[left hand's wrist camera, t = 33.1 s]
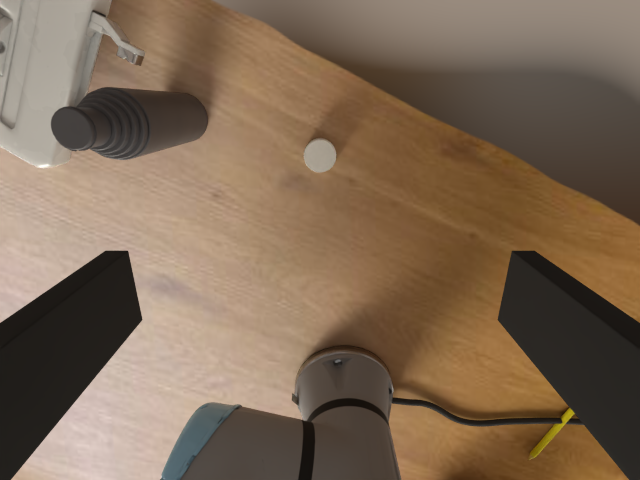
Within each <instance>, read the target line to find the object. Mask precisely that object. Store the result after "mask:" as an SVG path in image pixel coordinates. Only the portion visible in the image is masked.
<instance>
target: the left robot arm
mask: <svg viewBox="0 0 640 480" xmlns="http://www.w3.org/2000/svg"><path fill="white" fill-rule="evenodd" d="M141 321H142V316H141V311H140V306H139V301H138V297H137V292H136V287H135V282H134V277H133V272H132V268H131V263H130V258H129V253H128V251H105V252H103V253H102V254H100V255H99V256H97V257H96V258H94V259H93V260H92V261H90V262H89V263H87V264H86V265H84V266H83V267H81V268H80V269H78V270H77V271H75V272H74V273H73V274H71V275H70V276H68V277H67V278H65V279H64V280H62V281H61V282H59V283H58V284H57V285H55V286H54V287H52V288H51V289H49V290H48V291H46V292H45V293H43V294H42V295H40V296H39V297H38V298H36V299H35V300H33V301H32V302H30V303H29V304H27V305H26V306H24V307H23V308H22V309H20V310H19V311H17V312H16V313H14V314H13V315H11V316H10V317H8V318H7V319H6V320H4V321H3V322H1V323H0V480H11V479H12V478H13V476H14V475H15V474H16V473H17V472H18V470H19V469H20V468H21V467H22V465H23V464H24V463H25V462H26V461H27V459H28V458H29V457H30V456H31V454H32V453H33V452H34V451H35V450H36V448H37V447H38V446H39V445H40V444H41V442H42V441H43V440H44V439H45V437H46V436H47V435H48V434H49V433H50V431H51V430H52V429H53V428H54V427H55V425H56V424H57V423H58V422H59V420H60V419H61V418H62V417H63V416H64V414H65V413H66V412H67V411H68V410H69V408H70V407H71V406H72V405H73V403H74V402H75V401H76V400H77V399H78V397H79V396H80V395H81V394H82V392H83V391H84V390H85V389H86V388H87V386H88V385H89V384H90V383H91V382H92V380H93V379H94V378H95V377H96V375H97V374H98V373H99V372H100V371H101V369H102V368H103V367H104V366H105V365H106V363H107V362H108V361H109V360H110V358H111V357H112V356H113V355H114V354H115V352H116V351H117V350H118V349H119V348H120V346H121V345H122V344H123V343H124V341H125V340H126V339H127V338H128V337H129V335H130V334H131V333H132V332H133V330H134V329H135V328H136V327H137V326H138V324H139V323H140V322H141ZM498 321H499V322H500V323H501V324H502V326H503V327H504V328H505V329H506V330H507V332H508V333H509V334H510V335H511V337H512V338H513V339H514V340H515V341H516V343H517V344H518V345H519V346H520V348H521V349H522V350H523V351H524V352H525V354H526V355H527V356H528V357H529V358H530V360H531V361H532V362H533V363H534V365H535V366H536V367H537V368H538V369H539V371H540V372H541V373H542V374H543V375H544V377H545V378H546V379H547V380H548V382H549V383H550V384H551V385H552V386H553V388H554V389H555V390H556V391H557V392H558V394H559V395H560V396H561V397H562V399H563V400H564V401H565V402H566V403H567V405H568V406H569V407H570V408H571V410H572V411H573V412H574V413H575V414H576V416H577V417H578V418H579V419H573V418H570V419H569V420H568V421H567V423H566V424H576V425H585V427H586V428H587V429H588V430H589V431H590V433H591V434H592V435H593V436H594V437H595V439H596V440H597V441H598V442H599V444H600V445H601V446H602V447H603V448H604V450H605V451H606V452H607V453H608V454H609V456H610V457H611V458H612V459H613V461H614V462H615V463H616V464H617V465H618V467H619V468H620V469H621V470H622V472H623V473H624V474H625V475H626V476H627V478H628V479H629V480H640V323H639V322H637V321H636V320H634V319H633V318H632V317H630V316H629V315H627V314H626V313H624V312H623V311H621V310H620V309H618V308H617V307H616V306H614V305H613V304H611V303H610V302H608V301H607V300H605V299H604V298H602V297H601V296H600V295H598V294H597V293H595V292H594V291H592V290H591V289H589V288H588V287H586V286H585V285H583V284H582V283H581V282H579V281H578V280H576V279H575V278H573V277H572V276H570V275H569V274H567V273H566V272H565V271H563V270H562V269H560V268H559V267H557V266H556V265H554V264H553V263H551V262H550V261H548V260H547V259H546V258H544V257H543V256H541V255H540V254H538V253H537V252H535V251H512V253H511V258H510V263H509V268H508V272H507V277H506V282H505V287H504V292H503V297H502V301H501V306H500V311H499V316H498ZM292 401H293V402H294V403H296V404H297V405H298V408H299V410H300V412H301V415H302V418H303V420H300V419H295V418H291V417H286V416H281V415H277V414H272V413H268V412H263V411H259V410H254V409H250V408H246V407H242V406H241V405H227V404H221V403H214V402H211V403H206V404H204V405H202V406H201V407H199V408H198V409H197V410H196V411H195V413H194V414H193V415H192V416H191V418H190V419H189V421H188V422H187V424H186V425H185V427H184V429H183V431H182V432H181V434H180V436H179V438H178V440H177V442H176V444H175V446H174V448H173V450H172V452H171V454H170V456H169V458H168V461H167V463H166V465H165V467H164V470H163V472H162V478H161V479H160V480H401V476H400V472H399V467H398V463H397V458H396V454H395V449H394V445H393V440H392V436H391V432H390V427H389V416H390V410H391V403H393V404H402V405H413V406H424V407H427V408H430V409H433V410H435V411H437V412H438V413H440V414H442V415H443V416H445V417H447V418H448V419H450V420H452V421H454V422H457V423H460V424H464V425H469V426H496V425H510V424H561V423H562V420H561V418H509V419H495V420H468V419H463V418H460V417H457V416H455V415H453V414H451V413H449V412H448V411H446V410H444V409H443V408H441V407H439V406H437V405H435V404H433V403H430V402H427V401H423V400H412V399H402V398H393V384H392V380H391V376H390V373H389V370H388V368H387V367H386V365H385V364H384V362H383V361H382V360H381V359H380V358H379V357H377V356H376V355H375V354H373V353H371V352H369V351H367V350H365V349H362V348H358V347H353V346H336V347H331V348H327V349H324V350H321V351H319V352H317V353H316V354H314V355H312V356H311V357H310V358H308V359H307V360H306V361H305V362H304V364H303V365H302V366H301V368H300V369H299V371H298V374H297V377H296V383H295V395H294V394H292Z"/></svg>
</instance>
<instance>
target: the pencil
mask: <svg viewBox="0 0 640 480" xmlns="http://www.w3.org/2000/svg"><path fill="white" fill-rule="evenodd" d="M574 414H575V413H574V412H573V411H572V410H571V408H570V407H569V408H568V410H567V411H566V412H565V413H564V414H563V415H562V416H561V420H562V423H561V424H554V426H553V427H552V428H551V429H550V430H549V431H548V432H547V434H546V435H545V436H544V437H543V438H542V439H541V440H540V442H539V443H538V444H537V445H536V446H535V447H534V448H533V450H532V451H531V452H530V454H529V458H528V460H530V459H533V458H535V457H536V456H537V455H538V454H539V453H540V452H541V451H542V450H543V448H544V447H545V446H546V445H547V444H548V443H549V442H550V441H551V439H552V438H553V437H554V436H555V435H556V434H557V433H558V432H559V430H560V429H561V428H562V427H563V426H564V425H565V424H566V423H567V421H568V420H569V419H570V418H571V417H572V416H573V415H574Z"/></svg>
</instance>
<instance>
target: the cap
mask: <svg viewBox="0 0 640 480" xmlns="http://www.w3.org/2000/svg"><path fill="white" fill-rule="evenodd" d="M304 160H305V163H306V165H307V166H308V167H309V168H310V169H311V170H313V171H315V172H325V171H327V170H329V169H330V168H331V167H332V166H333V165H334V163H335V161H336V150H335V148H334V145H332V143H331V142H330V141H328V140H326V139H323V138H317V139H316V138H315V139H314V140H312V141H311V142H309V144H307V146H306V147H305V151H304Z"/></svg>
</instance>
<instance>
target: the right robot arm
mask: <svg viewBox="0 0 640 480" xmlns="http://www.w3.org/2000/svg"><path fill="white" fill-rule="evenodd" d="M111 2H112V0H0V147H1V148H4V149H5V150H7V151H8V152H10V153H12V154H13V155H15V156H17V157H18V158H20V159H22V160H24V161H26V162H28V163H30V164H32V165H34V166H36V167H38V168H52V167H56V166H60V165H63V164H65V163H68V162H69V160H70V157H71V154H72V151H71V150H69V149H67V148H64V147H63V146H62V145H61V144H60V143H59V142H58V141H57V140H56V138H55V137H54V135H53V132H52V129H51V119H52V116H53V115H54V113H55V112H56V111H57V110H58V109H60V108H62V107H68V106H72V107H77V105H78V104H79V103H80V102H81V101H82V99H83V98H84V97H85V96H86V95H87V93H88V89H89V86H90V82H91V78H92V74H93V70H94V67H95V63H96V59H97V55H98V52H99V48H100V44H101V40H102V37H103V34H105V35H109V36H110V37H111V38H112V39H113V40H114V42H115V43H116V44H117V46H118V47H119V48H118V52H117V56H119V57H121V58H123V59H126V60H127V61H128V62H130V63H132V64H135V65H139V66H141V64H142V61H143V58H144V56H145V51H144V50H142V49H140V48H138V47H136V46H134V45H133V44H131V43H130V41H129V39H128V38H127V37H126V35H125V34H124V32H123V31H122V30H121V28H120V27H119V25H118V24H117V23H116V22H114V21H112V20H110V19H108V14H109V10H110V6H111Z"/></svg>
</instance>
